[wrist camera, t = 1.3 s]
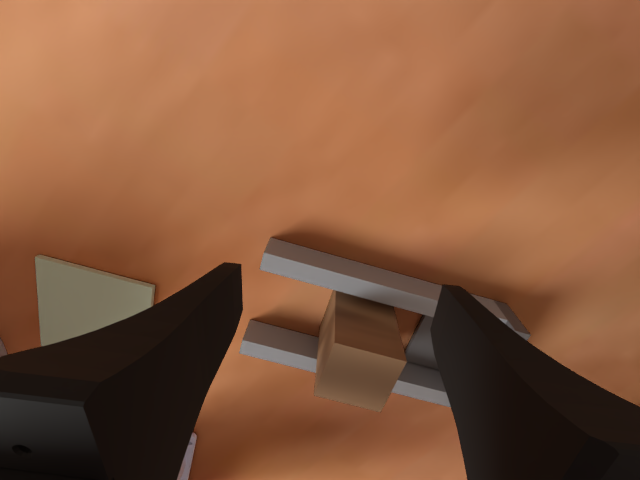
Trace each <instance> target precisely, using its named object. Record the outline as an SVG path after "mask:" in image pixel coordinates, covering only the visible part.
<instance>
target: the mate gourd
mask: <svg viewBox="0 0 640 480" xmlns="http://www.w3.org/2000/svg"><path fill="white" fill-rule="evenodd" d="M4 355H7V351H6V349H5V347H4V344H3V342H2V340H1V338H0V357H1V356H4Z"/></svg>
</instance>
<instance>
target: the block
mask: <svg viewBox="0 0 640 480" xmlns="http://www.w3.org/2000/svg"><path fill="white" fill-rule="evenodd" d="M406 363H407V360H406V356H405V352H404V348H403V344H402V340H401V336H400V331H399V327H398V323H397V319H396V315H395V311H394V307H393V306H391V305H387V304H383V303H380V302H376V301H372V300H369V299H365V298H361V297H358V296H354V295H350V294H347V293H343V292H339V291H336V290H333V292H332V295H331V298H330V300H329V303H328V306H327V309H326V312H325V314H324V317H323V320H322V323H321V326H320V329H319V341H318V353H317V365H316V376H315V388H314V396H317V397H321V398H325V399H329V400H333V401H337V402H341V403H345V404H349V405H353V406H357V407H361V408H365V409H369V410H373V411H377V412H381V411H382V409H383V407H384V405H385V403H386V401H387V399H388V397H389V395H390V394H391V392H392V390H393V388H394V386H395V384H396V382H397V380H398V378H399V376H400V374H401V372H402V370H403V368H404V366H405V365H406Z"/></svg>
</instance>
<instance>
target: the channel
mask: <svg viewBox="0 0 640 480" xmlns="http://www.w3.org/2000/svg"><path fill="white" fill-rule="evenodd" d="M260 270H263V271H266V272H270V273H274V274H277V275H281V276H285V277H288V278H292V279H296V280H299V281H303V282H307V283H310V284H314V285H318V286H321V287H325V288H328V289H332V290H336V291H339V292H343V293H347V294H350V295H354V296H358V297H361V298H365V299H369V300H372V301H376V302H380V303H383V304H387V305H391V306H394V307H398V308H401V309H405V310H409V311H412V312H416V313H420V314H423V316H422V318H421V320H420V322H419V324H418V326H417V328H416V330H415V332H414V334H413V336H412V338H411V340H410V342H409V344H408V346H407V348H406V350H405V356H406V360H407V363H406V365H405V366H404V368H403V370H402V372H401V374H400V376H399V378H398V380H397V382H396V384H395V386H394V388H393V390H392V392H393V393H397V394H400V395H404V396H408V397H412V398H416V399H420V400H424V401H428V402H432V403H436V404H439V405H443V406H447V407H451V406H450V403H449V400H448V397H447V393H446V390H445V387H444V384H443V381H442V378H441V375H440V372H439V368H438V365H437V362H436V359H435V355H434V350H433V345H432V338H431V332H430V328H431V325H432V321H433V317H434V314H435V310H436V307H437V303H438V299H439V296H440V292H441V288H442V286H441V285H438V284H434V283H431V282H427V281H424V280H420V279H417V278H413V277H409V276H406V275H402V274H399V273H395V272H392V271H388V270H385V269H381V268H377V267H374V266H370V265H367V264H363V263H360V262H356V261H353V260H349V259H345V258H342V257H338V256H335V255H331V254H328V253H324V252H321V251H317V250H313V249H310V248H306V247H303V246H299V245H296V244H292V243H289V242H285V241H281V240H278V239H274V238H270V240H269V242H268V244H267V247H266V249H265V251H264V254H263V258H262V262H261V266H260ZM469 294H470V293H469ZM471 295H472V296H473V297H474V298H475V299H476V300H478V301H479V302H480V303H481V304H482V305H483V306H485V307H486V308H487V309H488V310H489V311H490V312H492V313H493V314H494V315H495V316H496V317H497V318H499V319H500V320H501V321H502V322H503V323H505V324H506V325H507V326H508V327H510V328H511V329H512V330H513V331H515V332H516V333H517V334H519V335H520V336H521V337H523V338H524V339H525V340H528V338H529V337H530V336H531V335H530V333H529V332H528V331H527V329H526V328H525V327H524V325H523V324H522V323H521V322H520V320H519V319H518V318H517V316H516V315H515V314H514V312H513V311H512V310H511V309H510V307H509V306H508V305H507V304H506V303H502V302H498V301H495V300H491V299H488V298H484V297H481V296H477V295H473V294H471ZM318 341H319V338H318V337H315V336H311V335H307V334H303V333H299V332H296V331H292V330H288V329H284V328H280V327H277V326H273V325H269V324H265V323H261V322H258V321H254V320H250V321H249V324H248V327H247V329H246V332H245V335H244V337H243V340H242V344H241V348H240V352H239V353H240V354H244V355H248V356H252V357H256V358H260V359H264V360H268V361H271V362H275V363H279V364H283V365H287V366H291V367H295V368H299V369H303V370H307V371H311V372H314V373H316V365H317V353H318Z"/></svg>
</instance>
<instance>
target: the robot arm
mask: <svg viewBox="0 0 640 480" xmlns="http://www.w3.org/2000/svg"><path fill="white" fill-rule="evenodd" d="M242 311H243V302H242V276H241V264H235V263H225V262H224V263H223V264H221V265H219V266H218V267H216V268H215V269H213V270H212V271H210V272H209V273H207V274H206V275H204V276H203V277H201V278H199V279H198V280H196V281H195V282H193V283H192V284H190V285H189V286H187V287H185V288H184V289H182V290H180V291H179V292H177V293H175V294H173V295H172V296H170V297H168V298H167V299H165V300H163V301H161V302H159V303H158V304H156V305H154V306H152V307H150V308H148V309H146V310H144V311H141V312H139V313H137V314H135V315H133V316H131V317H128V318H126V319H123V320H121V321H118V322H116V323H113V324H111V325H108V326H105V327H103V328H100V329H98V330H95V331H92V332H89V333H86V334H83V335H80V336H77V337H74V338H70V339H67V340H64V341H60V342H57V343H53V344H50V345H46V346H42V347H38V348H34V349H30V350H26V351H21V352H17V353H13V354H9V355H4V356H1V357H0V480H188V479H189V474H190V469H191V464H192V459H193V454H194V449H195V445H196V440H197V435H196V434H195V433H193V430H194V427H195V424H196V421H197V418H198V416H199V413H200V410H201V407H202V404H203V402H204V399H205V397H206V394H207V392H208V390H209V387H210V385H211V383H212V381H213V379H214V377H215V375H216V373H217V371H218V369H219V367H220V364H221V362H222V360H223V358H224V356H225V354H226V352H227V350H228V348H229V346H230V344H231V342H232V339H233V337H234V335H235V333H236V330H237V327H238V324H239V321H240V317H241V314H242ZM430 332H431V338H432V345H433V350H434V355H435V359H436V362H437V365H438V368H439V372H440V375H441V378H442V381H443V384H444V387H445V390H446V393H447V397H448V400H449V403H450V406H451V409H452V412H453V415H454V419H455V422H456V426H457V430H458V435H459V439H460V444H461V449H462V454H463V458H464V464H465V469H466V474H467V480H640V407H639V406H637V405H635V404H633V403H631V402H629V401H626V400H624V399H622V398H620V397H618V396H616V395H615V394H613V393H611V392H609V391H607V390H605V389H603V388H601V387H599V386H598V385H596V384H594V383H592V382H591V381H589V380H587V379H585V378H584V377H582V376H580V375H578V374H576V373H575V372H573V371H571V370H570V369H568V368H567V367H565V366H563V365H562V364H560V363H559V362H557V361H556V360H554V359H553V358H551V357H549V356H548V355H546V354H545V353H543V352H542V351H540V350H539V349H538V348H536V347H535V346H533V345H532V344H531V343H529V342H528V341H527V340H525V339H524V338H523V337H521V336H520V335H519V334H517V333H516V332H515V331H513V330H512V329H511V328H510V327H508V326H507V325H506V324H505V323H503V322H502V321H501V320H500V319H499V318H497V317H496V316H495V315H494V314H493V313H492V312H490V311H489V310H488V309H487V308H486V307H485V306H483V305H482V304H481V303H480V302H479V301H478V300H476V299H475V298H474V297H473V296H472V295H471V294H469V293H468V292H467V291H466V290H465V289H463V288H462V287H460V286H453V285H442V288H441V292H440V296H439V299H438V303H437V307H436V310H435V314H434V317H433V321H432V325H431V328H430Z"/></svg>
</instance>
